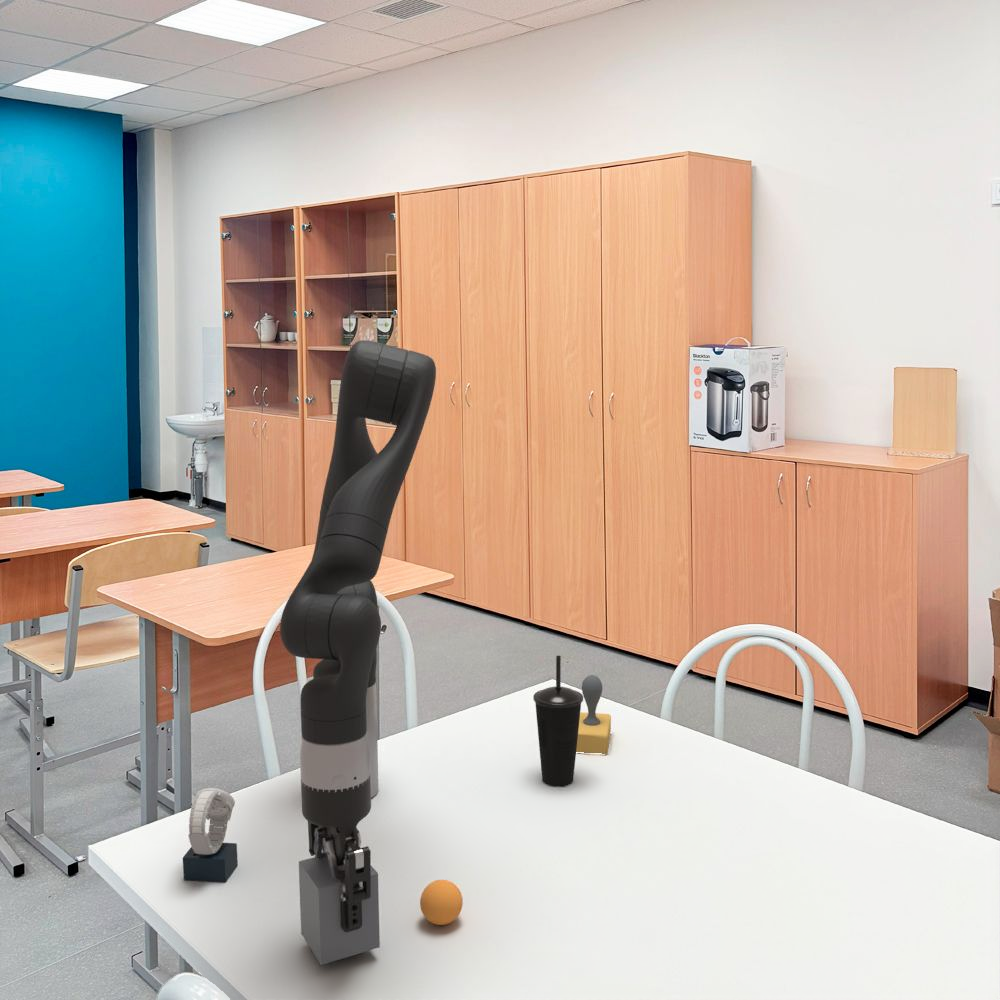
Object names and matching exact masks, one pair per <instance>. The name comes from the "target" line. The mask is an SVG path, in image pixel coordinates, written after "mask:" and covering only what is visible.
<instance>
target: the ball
mask: <svg viewBox="0 0 1000 1000" xmlns="http://www.w3.org/2000/svg"><path fill="white" fill-rule="evenodd" d="M463 902H464V901H463V895H462V892H461V891H460V888H459V887H458V886H457V885H456V884H455V883H454V882H452V881H450V880H447V879H437V880H436V879H435V880H433V881H432V882H430V883H428V884H427V885H426V886H425V888H424V889H423V891H422V893H421V895H420V899H419V905H420V906H419V907H420V911H421V913H422V915H423V916H424V918H425V919H426V920H427V921H428V922H429V923H432V924H434V925H436V926H445V925H448V924H451V923H453V922H454V921H455V920H456V919H457V918H458V917H459V916H460V914H461V912H462V908H463V904H464V903H463Z"/></svg>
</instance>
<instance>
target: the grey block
mask: <svg viewBox="0 0 1000 1000" xmlns="http://www.w3.org/2000/svg"><path fill="white" fill-rule="evenodd" d="M337 867H338V869H339V870H341V871H343V870H345V865H342V866H337ZM298 879H299V880H298V881H299V886H298V887H299V907H300V908H299V911H300V934H301V936H302V937H303V939H304V941H305V942H306V944H307V945H308V947H309V948H310V950H311V951H312V953H313V955H314V956H315V958H316V960H317V961H318V962H319V964H320V966H323V965H326V964H329V963H331V962H332V963H333V962H335V961H336V962H337V961H338V960H342V959H346V958H349V957H353V956H355V955H358V954H361V953H362V954H363V953H366V952H368V951H372V950H375V949H379V948H380V947H381V945H380V944H381V943H380V942H381V940H380V937H381V936H380V907H379V906H380V905H379V904H380V903H379V900H380V899H379V897H380V896H379V894H380V893H379V873H378V871H377V870H376V869H375V868H374V867H373V865H371V897H370V898H369V899H366V900H362V926H361V928H360V929H357V930H353V931H350V932H344V931H343V929H342V928H341V908H340V897H339V895H340V894H339V883H338V882H337V881H336V880H333V879H332V877H331V872H330V866H329V861H328V858H327V857H326V856H325V857H324V858H320V859H319V858H316V857H315V856H314V857H310V858H305V859H303V860H299V861H298ZM344 881H345V879H344ZM355 886H356V883H355V884H354V886H353V887H355Z"/></svg>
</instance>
